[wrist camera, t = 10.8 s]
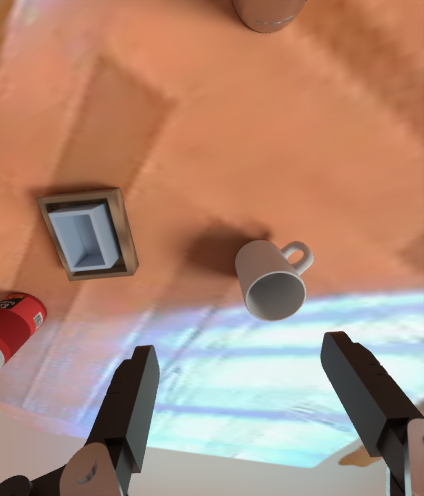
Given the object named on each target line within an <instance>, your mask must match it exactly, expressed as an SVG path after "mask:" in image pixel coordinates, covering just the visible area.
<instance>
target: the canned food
mask: <svg viewBox="0 0 424 496" xmlns="http://www.w3.org/2000/svg"><path fill="white" fill-rule="evenodd" d="M46 316H47V311H46V308H45V306H44V305H43V304H42V303H41V302H40V301H39V300H38V299H37V298H35V297H33V296H31V295H28V294H24V293H17V294H13V295H10V296H8V297H6V298H5V299H3V300H2V301H0V368H2V366H3V365H4V364H5V363H6V362H7V361H8V360H9V359H10V358H11V357H12V356H13V355H14V354H15V353H16V352H17V351H18V350H19V349H20V347H21V346H22V345H23V344H24V343H25V342H26V341H27V340H28V339H29V338H30V337H31V336H32V335H33V334H34V332H35V331H36V330H37V329H38V328H39V327H40V326H41V325H42V324H43V323H44V321H45V319H46Z"/></svg>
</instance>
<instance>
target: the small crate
mask: <svg viewBox="0 0 424 496" xmlns="http://www.w3.org/2000/svg"><path fill="white" fill-rule="evenodd" d="M48 215H49V217H50V220H51V222H52V225H53V227H54V230H55V232H56V235H57V237H58V240H59V242H60V245H61V247H62V250H63V252H64V255H65V258H66V260H67V263H68V265H69V268H70V270H71V272H73V271H84V270H95V269H105V268H111V267H112V266H113V264H114V263H115V262H116V261H117V259H118V258H119V257H120V256H121V254H122V252H121V249H120V245H119V242H118V238H117V235H116V231H115V228H114V224H113V220H112V217H111V213H110V210H109V206H108V203H107V202H99V203H89V204H78V205H69V206H66V207H64V208H61V209H59V210H56V211H54V212H51V213H49V214H48Z"/></svg>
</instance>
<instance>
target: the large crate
mask: <svg viewBox="0 0 424 496" xmlns="http://www.w3.org/2000/svg"><path fill="white" fill-rule="evenodd" d="M36 200H37V202H38V205H39V207H40V209H41V212H42V214H43V217H44V219H45V222H46V224H47V227H48V229H49V232H50V234H51V237H52V239H53V242H54V244H55V247H56V249H57V252H58V254H59V257H60V259H61V262H62V264H63V266H64V269H65V271H66V274H67V276H68V279H69V281H77V280H88V279H99V278H111V277H122V276H133V275H134V273H135V272H136V270H137V268H138V266H139V263H138V259H137V255H136V251H135V247H134V243H133V239H132V235H131V231H130V227H129V222H128V218H127V214H126V210H125V206H124V202H123V198H122V194H121V190H120V188H113V189H102V190H91V191H80V192H69V193H59V194H51V195H47V196H43V197H40V198H36ZM99 202H107V203H108V206H109V210H110V213H111V217H112V220H113V224H114V228H115V231H116V235H117V238H118V242H119V245H120V249H121V252H122V254H121V256H120V257H119V258H118V259H117V261H116V262H115V263H114V264H113V266H112V267H111V268H105V269H95V270H84V271H73V272H71V270H70V268H69V265H68V263H67V260H66V258H65V255H64V252H63V250H62V247H61V245H60V242H59V240H58V237H57V235H56V232H55V230H54V227H53V225H52V222H51V220H50V217H49V215H48V214H49V213H51V212H54V211H56V210H59V209H61V208H64V207H66V206H69V205H78V204H89V203H99Z"/></svg>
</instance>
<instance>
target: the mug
mask: <svg viewBox="0 0 424 496" xmlns="http://www.w3.org/2000/svg"><path fill="white" fill-rule="evenodd" d="M296 250H302V251H303V252H304V256H303V257H302V258H301V259H300V260H299V261H298V262H296V263H295V264H292V265H291V264H290V263H289V261H288V259H287V258H288V257H289V256H290V255H291V254H292V253H293V252H294V251H296ZM313 260H314V257H313V253H312V251H311V250H310V249H309V247H308V246H306V245H305V244H304V243H302V242H299V241H294V242H291V243H290V244H288V245H287V246H285V247H284V248H282V249H281V250H280V249H279V248H278V247H277V246H276V245H275V244H273V243H271V242H269V241H266V240H255V241H251V242H249V243H247V244H245V245H244V246H243V247H242V248H241V249H240V250H239V252H238V253H237V255H236V258H235V268H236V272H237V275H238V279H239V282H240V286H241V290H242V294H243V298H244V301H245V305H246V307H247V309H248V311H249V312H250V313H251V314H252V315H253V316H254V317H256V318H258V319H260V320H264V321H280V320H284V319H286V318H289V317H290V316H292V315H294V314H295V313H296V312H297V311H298V310H299V309H300V308H301V307H302V305H303V303H304V301H305V298H306V287H305V284H304V282H303V281H302V279H301V277H300V275H301V274H302V273H303V272H304V271H305V270H306V269H307V268H309V267H310V265H311V264H312V263H313Z"/></svg>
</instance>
